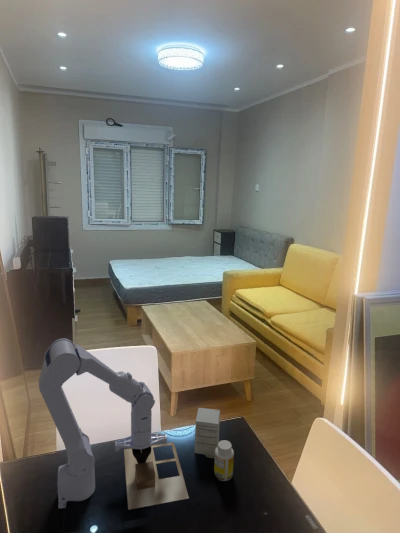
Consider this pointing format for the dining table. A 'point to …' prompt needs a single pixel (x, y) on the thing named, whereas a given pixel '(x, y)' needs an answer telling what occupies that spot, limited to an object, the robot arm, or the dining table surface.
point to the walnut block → (145, 475)
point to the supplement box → (207, 431)
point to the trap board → (163, 488)
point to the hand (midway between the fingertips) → (141, 466)
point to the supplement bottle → (224, 461)
